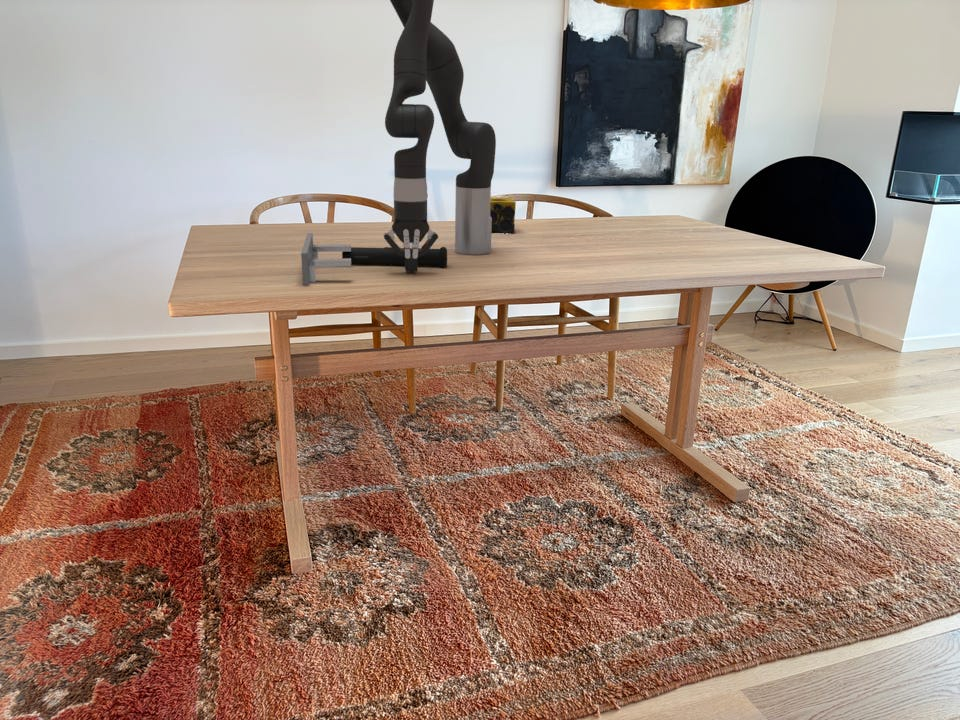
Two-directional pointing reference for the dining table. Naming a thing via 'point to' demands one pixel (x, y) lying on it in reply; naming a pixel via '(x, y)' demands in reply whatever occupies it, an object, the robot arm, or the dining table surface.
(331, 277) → the dining table surface
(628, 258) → the dining table surface
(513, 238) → the dining table surface
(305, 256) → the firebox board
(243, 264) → the dining table surface
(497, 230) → the black and yellow cube
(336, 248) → the grey u-shaped bracket
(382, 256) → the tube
